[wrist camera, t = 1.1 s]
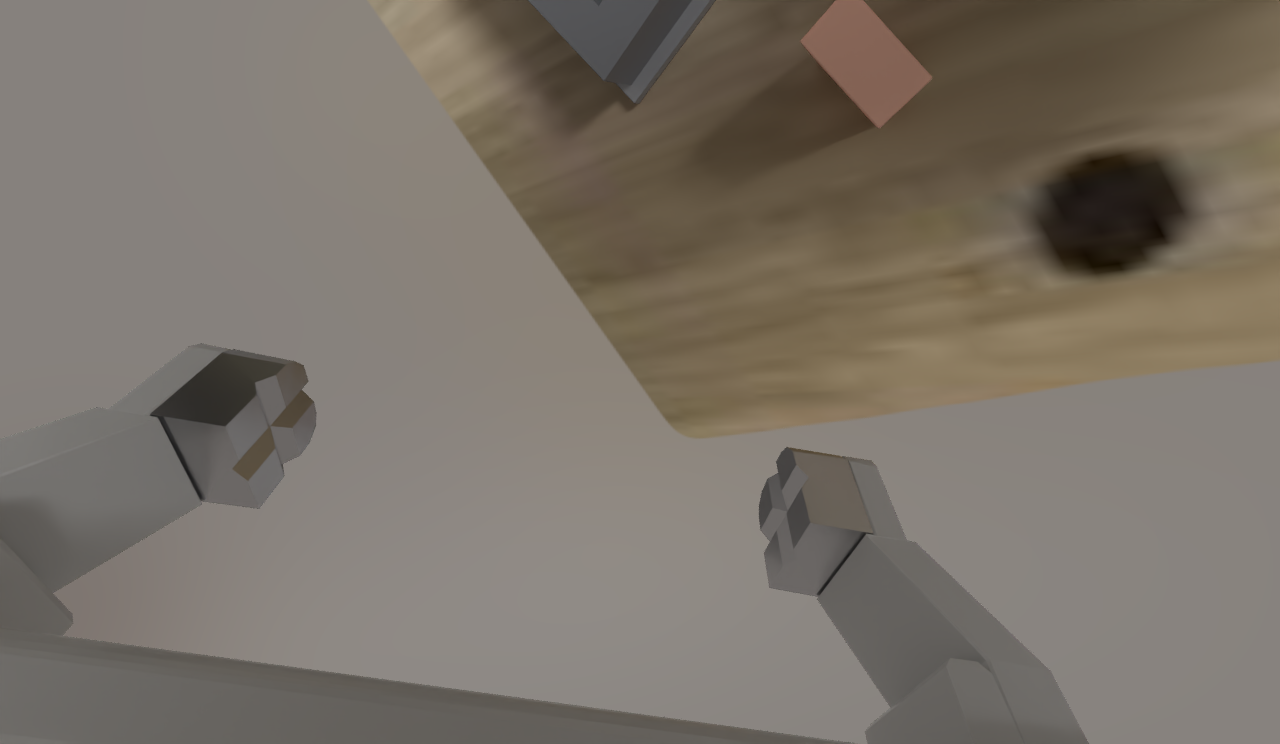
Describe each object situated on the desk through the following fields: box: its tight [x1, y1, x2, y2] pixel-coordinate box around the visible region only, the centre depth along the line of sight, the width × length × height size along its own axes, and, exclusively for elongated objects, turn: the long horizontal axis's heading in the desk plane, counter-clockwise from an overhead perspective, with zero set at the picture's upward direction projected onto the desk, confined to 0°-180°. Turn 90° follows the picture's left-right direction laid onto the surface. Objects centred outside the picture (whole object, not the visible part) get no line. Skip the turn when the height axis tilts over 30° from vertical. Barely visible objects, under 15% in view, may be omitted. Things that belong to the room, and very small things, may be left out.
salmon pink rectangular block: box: [800, 0, 933, 128], centre depth 31 cm, size 3×6×11 cm, turn 48°
